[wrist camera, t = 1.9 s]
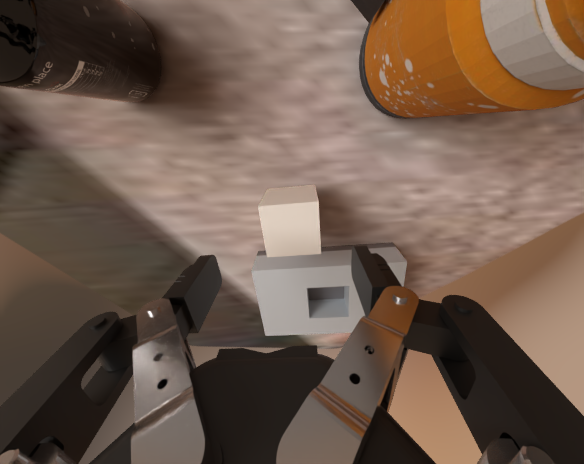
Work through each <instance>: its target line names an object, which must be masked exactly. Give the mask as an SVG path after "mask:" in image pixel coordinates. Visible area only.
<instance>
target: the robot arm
mask: <svg viewBox="0 0 584 464" xmlns="http://www.w3.org/2000/svg"><path fill="white" fill-rule="evenodd" d="M351 273H352V279H353V282H354V285H355V288H356V290H357V293H358V296H359V299H360V302H361V305H362V308H363V310H364V313H365V316H366V317H365V316H363V317H362V318H361V319H360V320H359V322H358V324H357V325H356V327H355V328H354V330H353V332H352V333H351V335H350V336H349V338H348V340H347V341H346V343H345V344H344V346H343V348H342V349H341V351H340V353H339V354H338V356H337V357H336V359H335V360H333V359H331V358H329V357H327V356H324V355H321V354H317V345H315V346H292V347H288V348H285V349H281V350H278V351H274V352H271V353H262V352H257V351H253V350H248V349H244V348H237V349H220V350H219V352H218V355H217V357H216V358H214V359H212V360H209V361H208V362H205V363H203V364H201V365H200V366H198V367H197V368H196V365H195V362H194V359H193V356H192V352H191V349H190V346H189V343H188V340H187V338H186V337H187V336H188V334H189V333H198V332H199V330H200V328H201V326H202V324H203V322H204V320H205V318H206V316H207V314H208V312H209V310H210V308H211V306H212V304H213V301H214V299H215V297H216V295H217V293H218V291H219V289H220V287H221V283H222V278H221V274H220V270H219V267H218V263H217V260H216V257H215V256H214V255H205V256H200V257H199V258H198V259H197V261H196V262H195V263H194V265H191V266H189V267H188V268H187V269H185V270H184V271H183V272H182V274H181V275H180V277H178V279H177V280H176V282H174V284H173V285H172V286H171V287H170V289H169V290H168V291H167V293H166V294H165V295H164V296H163V298H161V299H157V300H154V301H151V302H149V303H147V304H146V305H144V306H143V307H142V308H141V309H140V310H139V311H138V313H137V315H134V316H130V317H127V318H123V319H120V318H119V316H118V314H117V313H116V312H106V313H103V314H100V315H98V316H96V317H94V318H92V319H90V320H89V321H87V322H86V323H85V324H84V325H83V326H82V327H81V328H80V329H79V330H78V331H77V332H76V333H75V334H74V335H73V336H72V337H71V338H69V340H68V341H66V342H65V343H64V344H63V345H62V346H61V347H60V348H59V350H58V351H56V352H55V353H54V354H53V355H52V356H51V357H50V358H49V359H48V360H47V361H46V362H45V363H44V364H43V365H42V366H41V367H40V368H39V369H38V370H37V371H36V372H35V373H34V374H33V375H32V376H31V377H30V378H29V379H28V380H27V381H26V382H25V383H24V384H23V385H22V386H21V387H20V388H19V389H18V390H17V391H16V392H15V393H14V394H13V395H12V396H11V397H10V398H9V399H8V400H6V401H5V402H4V403H3V404H2V405H1V406H0V464H78V463H79V461H80V460H81V458H82V457H83V455H84V453H85V452H86V450H87V448H88V447H89V445H90V443H91V442H92V440H93V439H94V437H95V435H96V433H97V432H98V430H99V429H100V427H101V426H102V424H103V422H104V420H105V419H106V417H107V416H108V414H109V412H110V411H111V409H112V408H113V406H114V404H115V403H116V401H117V399H118V398H119V396H120V395H121V393H122V391H123V390H124V388H125V386H126V385H127V383H128V381H129V380H130V378H131V377H132V375H133V377H134V378H133V379H134V405H135V423H133V424H132V425H131V426H130V427H129V428H128V429H127V430H126V431H125V432H124V433H122V434H121V435H120V436H119V437H118V438H117V439H116V440H115V441H114V442H112V444H110V445H109V446H108V447H107V448H106V449H105V450H104V451H103V452H101V453H100V454H99V455H98V456H97V457H96V458H95V459H94V460H93V461H92V462H90V463H89V464H436V463H435V462H434V461H433V460H432V459H431V458H430V457H429V456H428V455H427V454H426V453H425V451H424V450H423V449H422V448H421V447H420V446H419V445H418V444H417V443H416V442H415V441H414V440H413V439H412V438H411V437H410V436H409V434H408V433H407V432H405V430H404V429H403V428H402V427H401V426H400V425H399V424H398V423H397V422H396V421H395V420H394V419H393V418H392V416H391V415H390V414H389V413H388V412H389V408H390V406H391V402H392V399H393V396H394V392H395V388H396V385H397V382H398V379H399V376H400V373H401V370H402V367H403V364H404V361H405V358H406V356H407V353H408V350H409V349H411V350H415V351H419V352H423V353H427V354H431V355H432V357H433V359H434V361H435V363H436V365H437V367H438V369H439V371H440V373H441V375H442V377H443V378H444V381H445V382H446V384H447V386H448V388H449V390H450V392H451V394H452V396H453V398H454V400H455V402H456V404H457V406H458V408H459V410H460V412H461V414H462V416H463V417H464V420H465V422H466V424H467V425H468V427H469V429H470V431H471V433H472V435H473V437H474V439H475V441H476V443H477V445H478V447H479V449H480V451H481V453H482V456H481V458H480V459H479V461H478V462H477V464H584V416H583V415H582V414H581V413H580V412H579V411H578V409H577V408H575V406H574V405H573V404H572V403H571V402H570V401H569V400H568V399H567V398H566V397H565V395H564V394H563V393H562V392H561V391H560V390H559V389H558V388H557V387H556V386H555V385H554V384H553V382H552V381H551V380H550V379H549V378H548V377H547V376H546V375H545V374H544V373H543V372H542V371H541V370H540V368H539V367H538V366H537V365H536V364H535V363H534V362H533V361H532V360H531V359H530V358H529V357H528V356H527V354H526V353H525V352H524V351H523V350H522V349H521V348H520V347H519V346H518V345H517V344H516V343H515V342H514V340H513V339H512V338H511V337H510V336H509V335H508V334H507V333H506V332H505V331H504V330H503V328H502V327H501V326H500V325H499V324H498V323H497V322H496V321H495V320H494V319H493V318H492V317H491V316H490V314H489V313H488V312H487V311H486V310H485V309H484V308H483V307H482V306H481V305H479V304H478V303H477V302H475V301H473V300H471V299H469V298H467V297H464V296H459V295H449V296H446V297H444V298H443V300H442V303H436V302H430V301H424V300H421V299H418V297H417V295H416V294H415V293H414V292H413V291H411V290H409V289H407V288H405V287H402V285H401V284H400V282H399V281H398V279H397V277H396V276H395V274H394V273H393V271H392V270H391V268H390V267H389V265H388V264H387V262H386V260H385V259H384V258H383V257H382V256H380V255H379V254H377V253H371V252H370V251H369V249H368V247H367V245H359V246H352V259H351ZM96 359H97V360H98V361H99V363H101V365H102V366H101V367H100V369H99V370H98V371H97V372H96V374H95V375H94V376H93V378H92V379H91V380H90V382H89V383H88V384H87V385H86V387H85V388H84V390H82V388H81V381H82V378H83V376H84V374H85V373H86V372H87V371H88V369H89V368H90V367H91V365H92V364H93V363H94V362H95V361H96Z"/></svg>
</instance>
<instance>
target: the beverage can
mask: <svg viewBox="0 0 584 464" xmlns="http://www.w3.org/2000/svg"><path fill="white" fill-rule="evenodd" d="M160 76H161V59H160V53H159V49H158V46H157V43H156V41H155V39H154V36H153V34H152V33H151V31H150V29H149V28H148V26H147V25H146V23H145V22H144V21H143V19H142V18H141V17H140V16H139V15H138V14H137V13H136V12H135V11H134V10H132V9H131V8H130V7H129V6H127V5H126V4H125V3H123V2H122V1H120V0H0V86H6V87H12V88H20V89H28V90H35V91H43V92H51V93H58V94H66V95H74V96H81V97H89V98H97V99H104V100H112V101H121V102H140V101H143V100H145V99H147V98H148V97H150V96H151V95H152V94H153V92H154V91H155V90H156V88H157V86H158V84H159V80H160Z"/></svg>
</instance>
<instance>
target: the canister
mask: <svg viewBox="0 0 584 464" xmlns="http://www.w3.org/2000/svg"><path fill="white" fill-rule="evenodd" d="M351 1H352V2H353V3H354V5H355V6H356V7H357V8H358V10H359V11H360V12H361V13H362V15H363V16H364V17H365V18H366V20H367V21H368V22H369V24H368V27H367V29H366V32H365V34H364V37H363V41H362V45H361V50H360V57H359V71H360V79H361V83H362V87H363V89H364V91H365V94H366V96H367V97H368V99H369V100H370V102H371V103H372V104H373V105H374V106H375V107H376V108H377V109H378V110H380V111H381V112H382V113H384V114H386V115H389V116H392V117H396V118H417V117H432V116H447V115H462V114H476V113H491V112H506V111H521V110H535V109H544V108H553V107H558V106H562V105H566V104H569V103H573V102H577V101H579V100H582V99H584V0H351Z"/></svg>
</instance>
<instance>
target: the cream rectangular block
mask: <svg viewBox="0 0 584 464" xmlns="http://www.w3.org/2000/svg"><path fill="white" fill-rule="evenodd" d="M258 209H259V215H260V220H261V226H262V232H263V237H264V243H265V249H266V254H267V257H281V256H296V255H312V254H321V240H320V220H319V201H318V196H317V192H316V187H315V185H305V186H294V187H283V188H271V189H267V191H266V192H265V194H264V196H263V198H262V200H261V202H260V204H259V205H258Z"/></svg>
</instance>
